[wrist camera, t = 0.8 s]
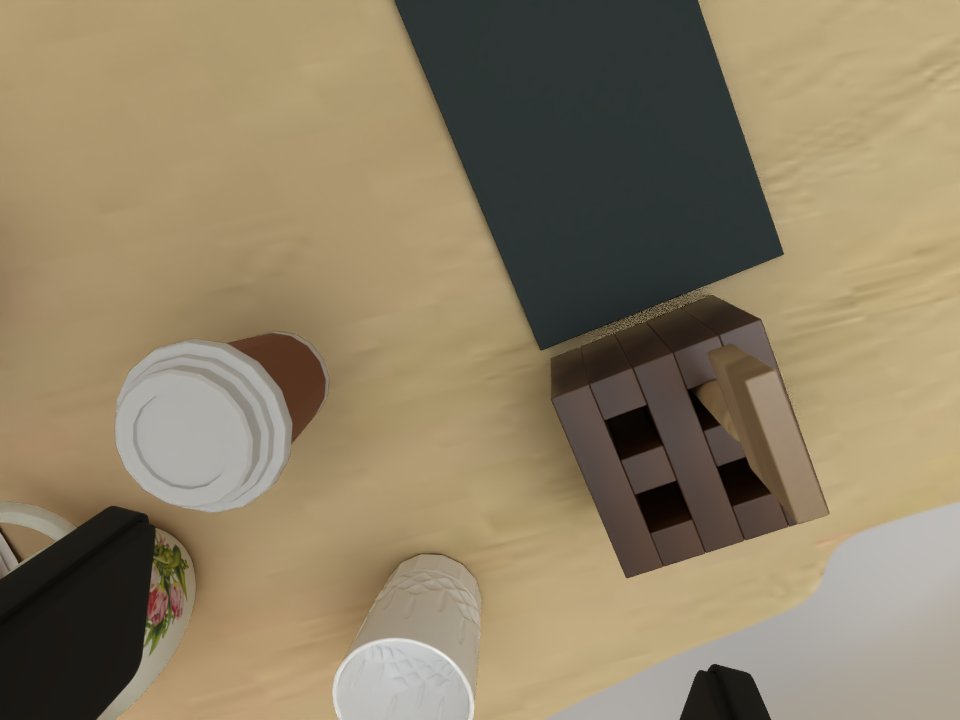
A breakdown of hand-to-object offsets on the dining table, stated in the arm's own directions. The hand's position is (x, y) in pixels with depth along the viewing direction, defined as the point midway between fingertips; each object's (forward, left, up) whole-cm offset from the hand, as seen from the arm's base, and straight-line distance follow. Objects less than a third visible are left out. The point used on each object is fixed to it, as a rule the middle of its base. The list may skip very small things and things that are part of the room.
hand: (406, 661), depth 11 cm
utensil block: (-7, +8, -30) cm, 32 cm away
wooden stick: (-9, +6, -30) cm, 32 cm away
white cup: (+12, +15, -31) cm, 36 cm away
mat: (-9, -10, -30) cm, 33 cm away
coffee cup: (+15, -3, -31) cm, 34 cm away
